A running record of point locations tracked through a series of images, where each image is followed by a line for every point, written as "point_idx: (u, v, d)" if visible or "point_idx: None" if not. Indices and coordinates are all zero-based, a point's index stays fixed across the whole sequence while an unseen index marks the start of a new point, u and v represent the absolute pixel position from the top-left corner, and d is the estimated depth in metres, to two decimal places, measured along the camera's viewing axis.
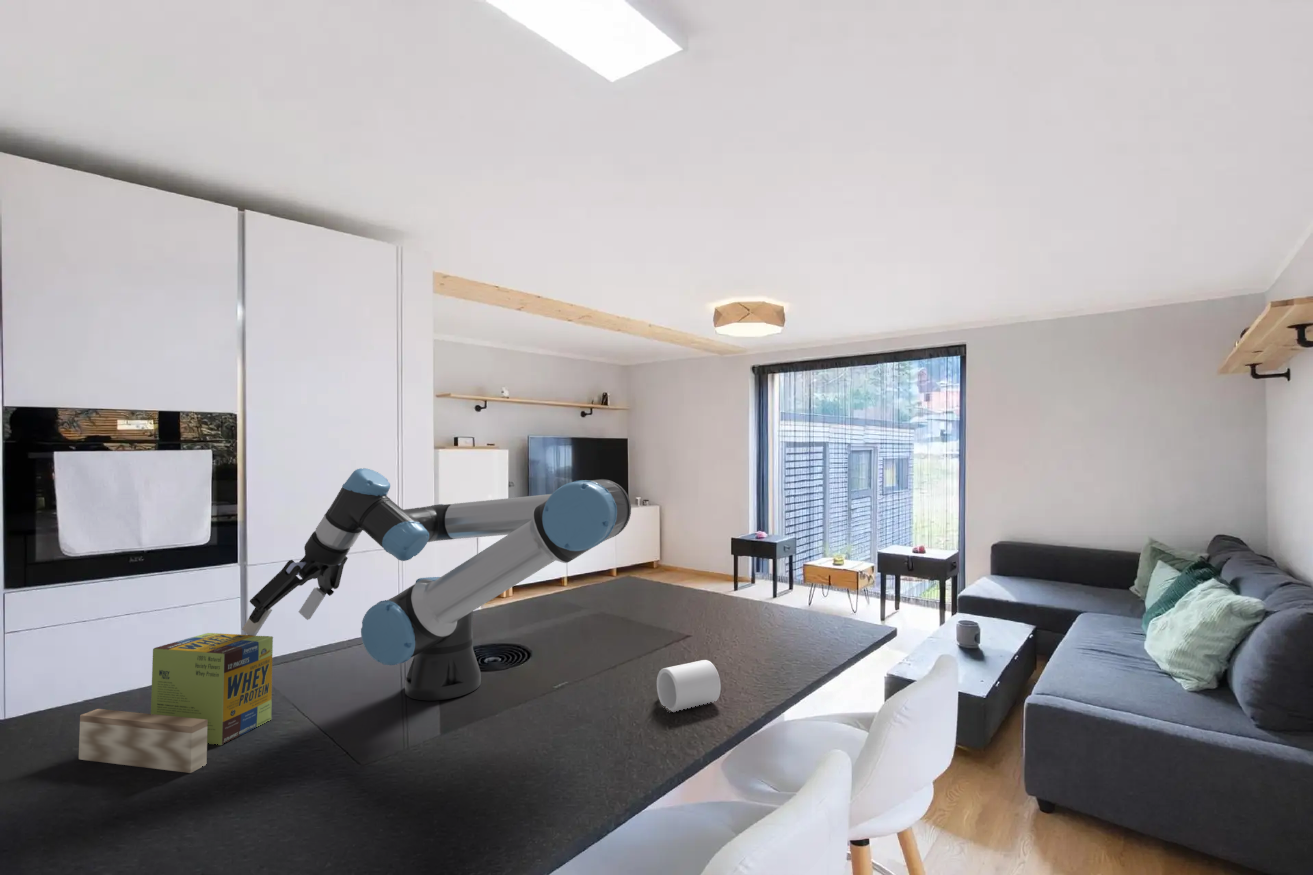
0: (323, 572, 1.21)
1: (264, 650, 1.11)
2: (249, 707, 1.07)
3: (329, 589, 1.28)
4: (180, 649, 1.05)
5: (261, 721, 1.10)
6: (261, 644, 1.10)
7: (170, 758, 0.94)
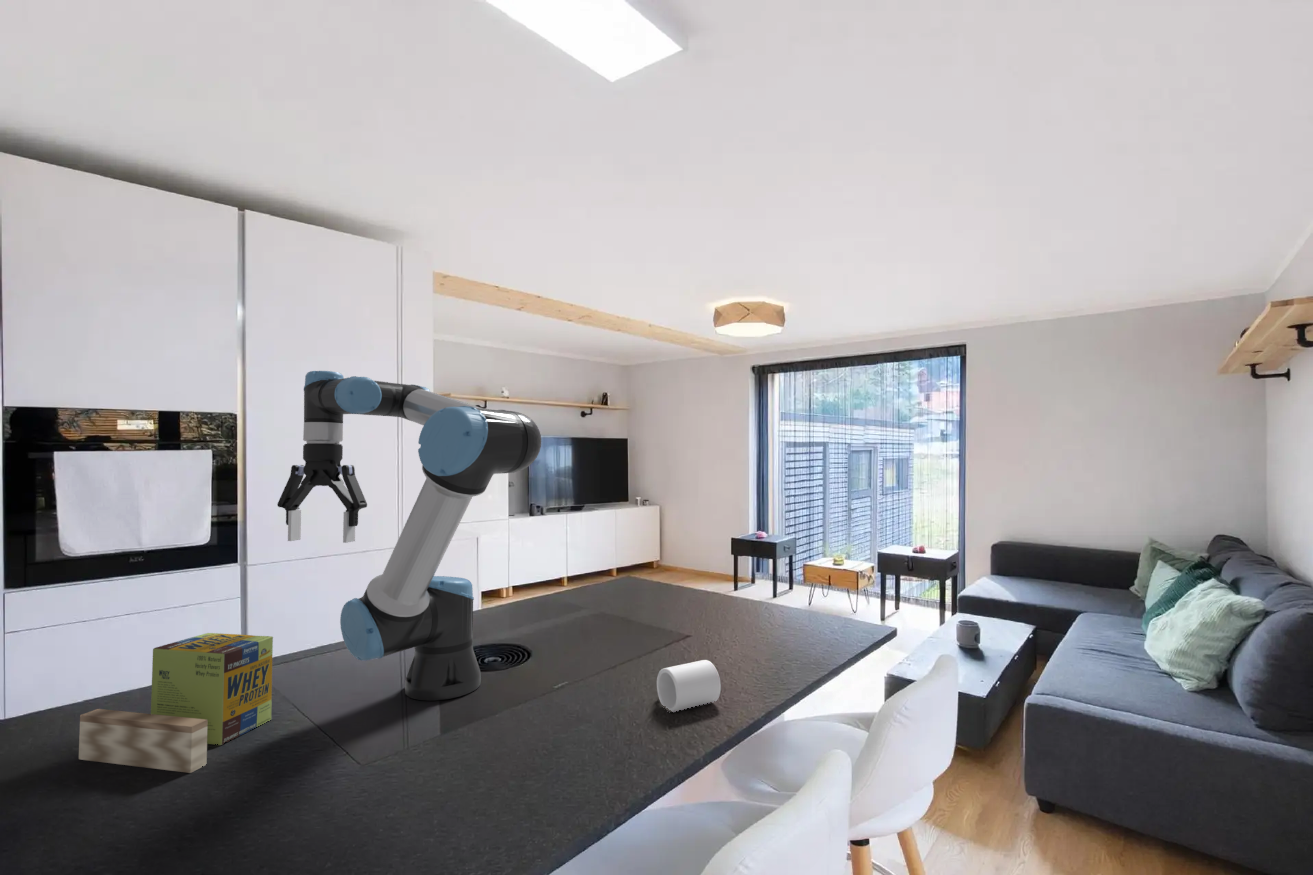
0: None
1: (264, 651, 1.11)
2: (249, 707, 1.07)
3: (348, 506, 1.28)
4: (180, 649, 1.05)
5: (261, 721, 1.10)
6: (261, 644, 1.10)
7: (170, 758, 0.94)
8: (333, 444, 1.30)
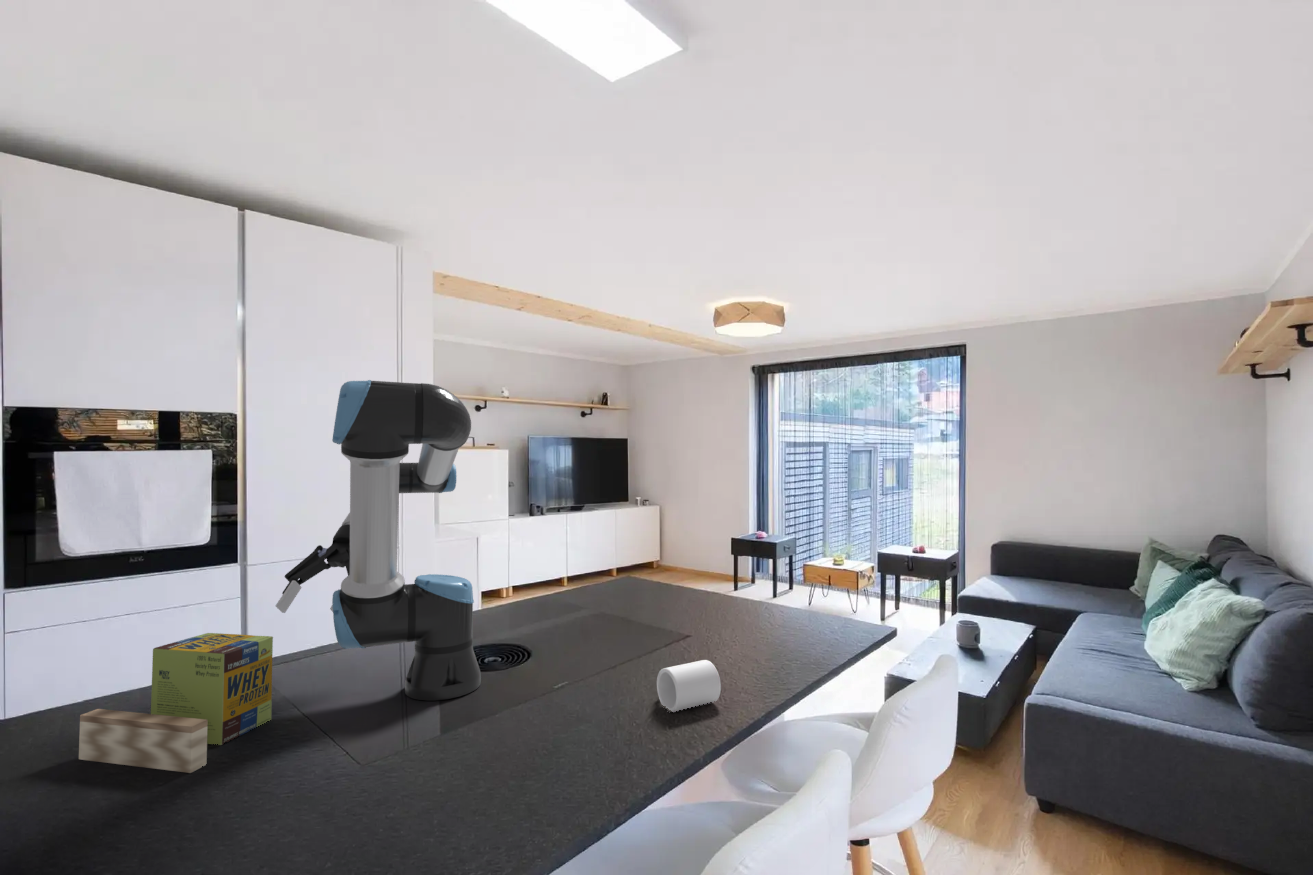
0: None
1: (264, 651, 1.11)
2: (249, 707, 1.07)
3: None
4: (180, 649, 1.05)
5: (261, 721, 1.10)
6: (261, 644, 1.10)
7: (170, 758, 0.94)
8: None
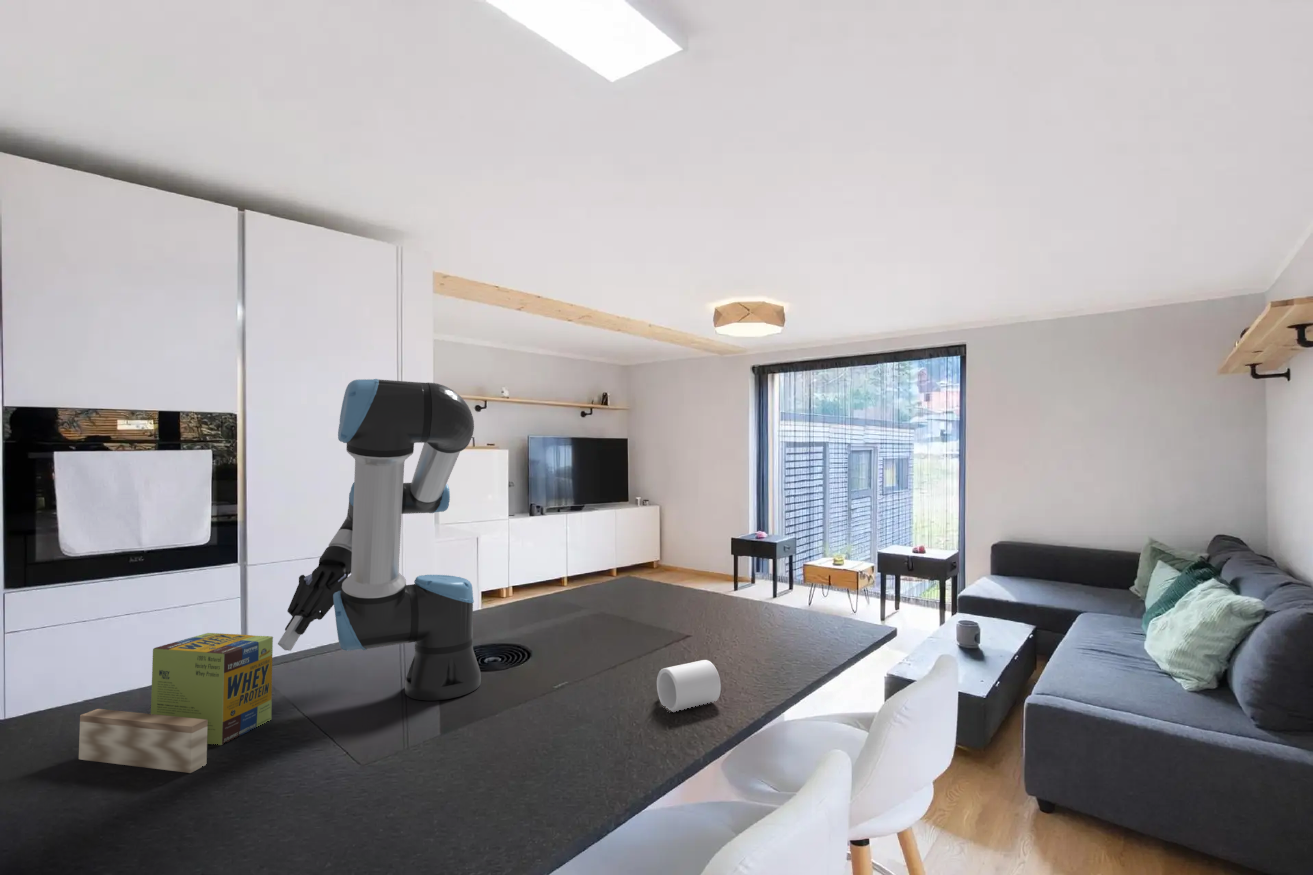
0: None
1: (264, 651, 1.11)
2: (249, 707, 1.07)
3: (307, 611, 1.30)
4: (180, 649, 1.05)
5: (261, 721, 1.10)
6: (261, 644, 1.10)
7: (170, 758, 0.94)
8: (352, 553, 1.41)
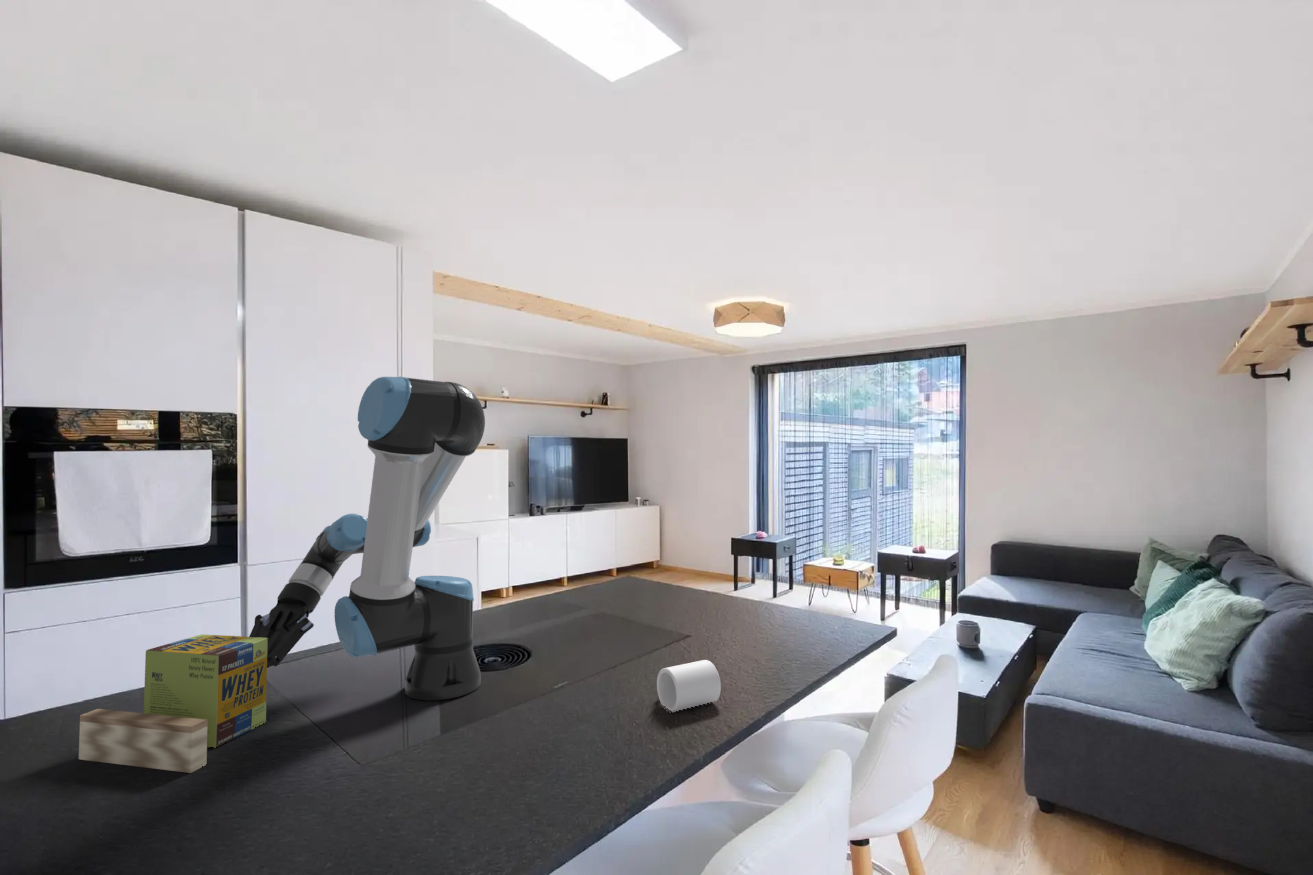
0: None
1: (259, 652, 1.10)
2: (243, 710, 1.06)
3: None
4: (173, 651, 1.04)
5: (256, 723, 1.09)
6: (256, 646, 1.09)
7: (170, 758, 0.94)
8: (314, 589, 1.29)
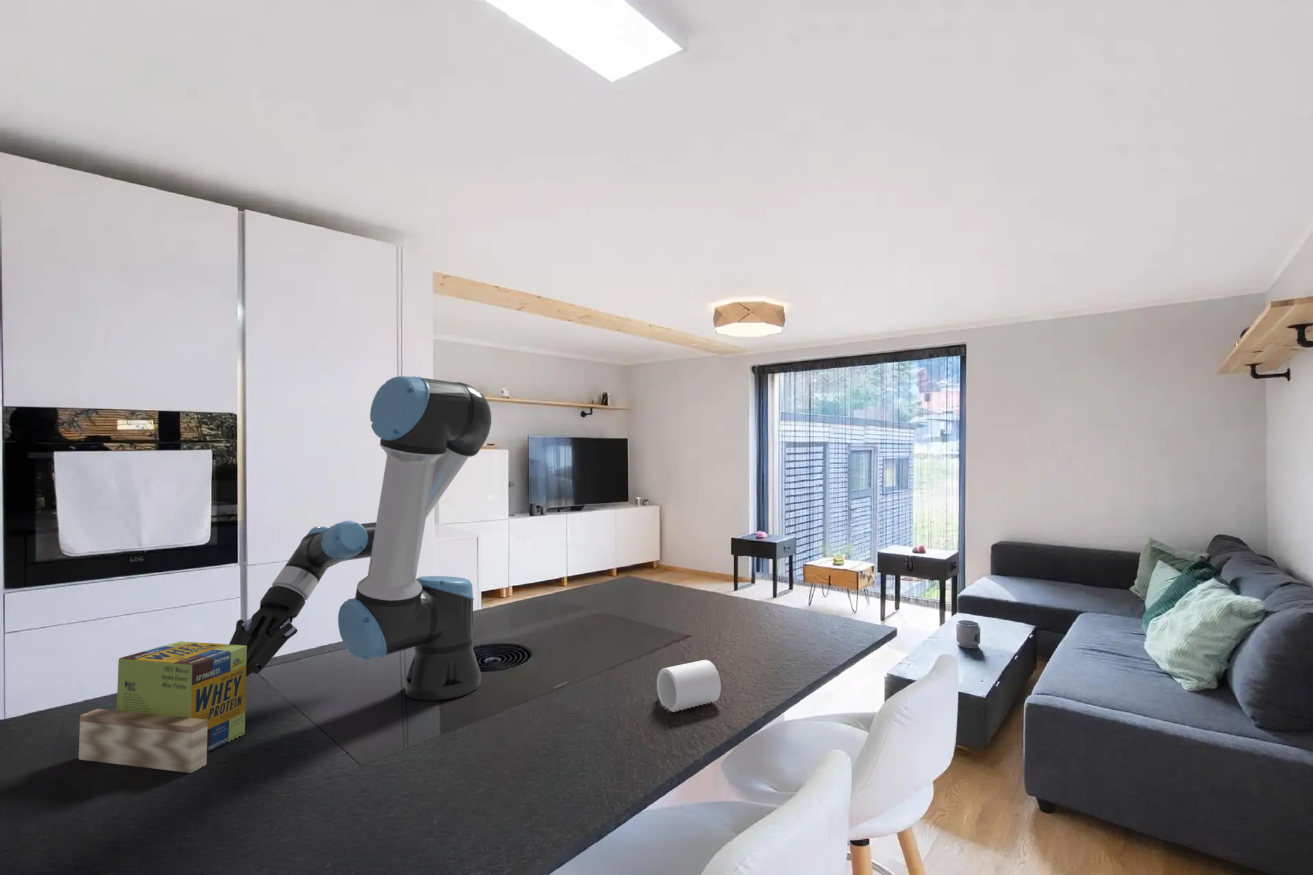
0: None
1: (237, 661, 1.05)
2: (219, 721, 1.01)
3: None
4: (147, 659, 0.99)
5: (233, 735, 1.04)
6: (234, 654, 1.04)
7: (170, 758, 0.94)
8: (298, 593, 1.24)
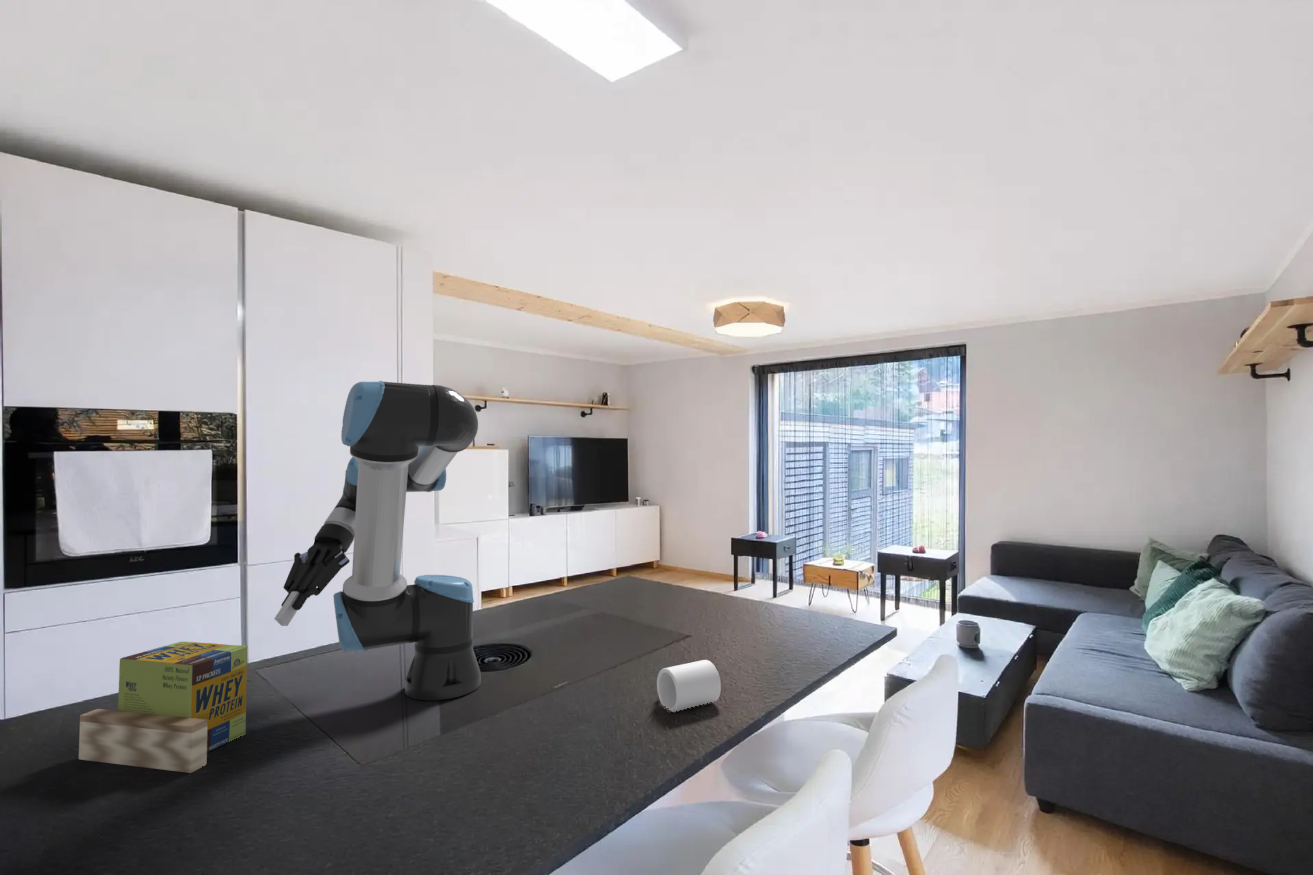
0: None
1: (238, 661, 1.05)
2: (220, 721, 1.01)
3: (304, 587, 1.29)
4: (147, 659, 0.99)
5: (234, 735, 1.04)
6: (234, 655, 1.04)
7: (170, 758, 0.94)
8: (348, 530, 1.40)
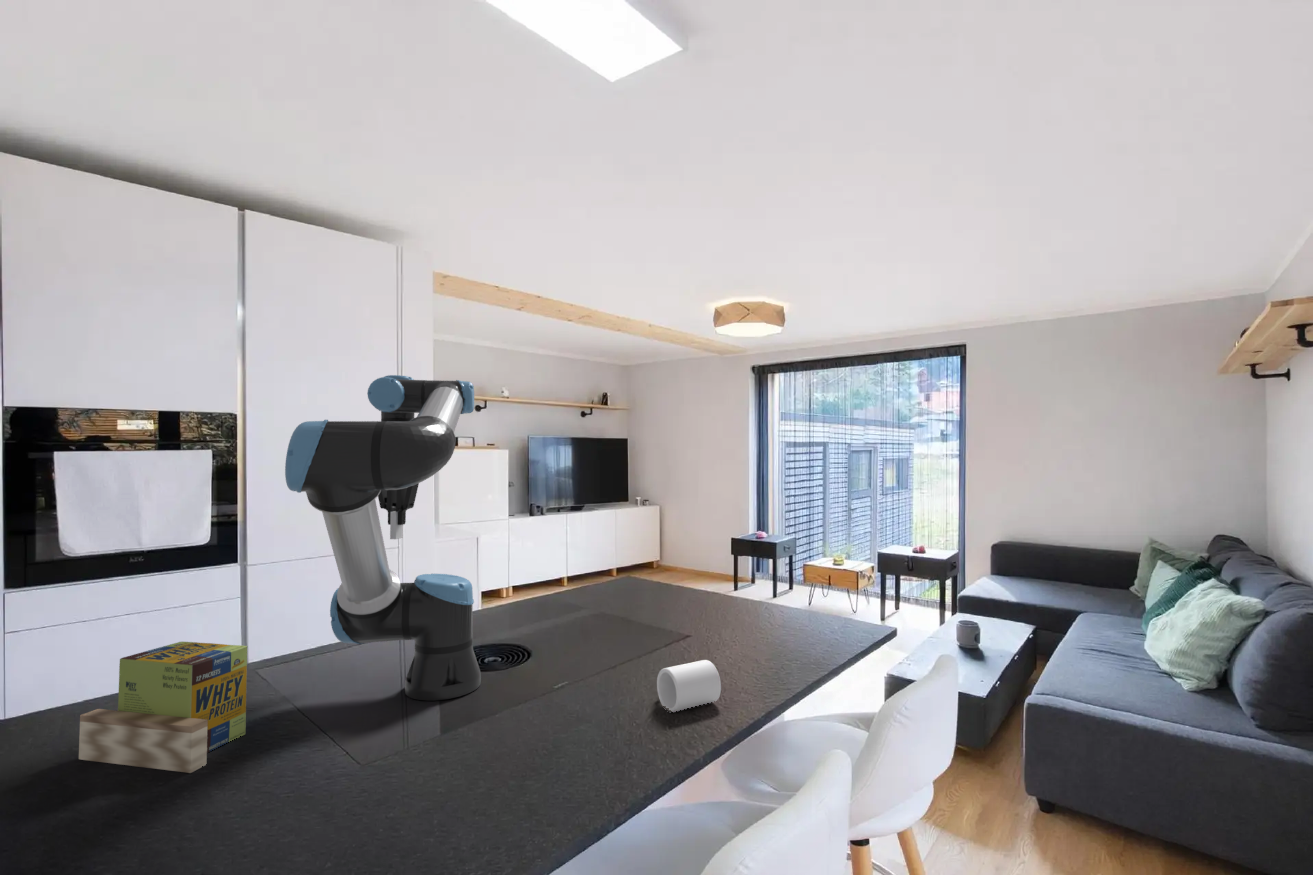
0: None
1: (238, 661, 1.05)
2: (220, 721, 1.01)
3: (399, 506, 1.44)
4: (147, 659, 0.99)
5: (234, 735, 1.04)
6: (234, 655, 1.04)
7: (170, 758, 0.94)
8: None
